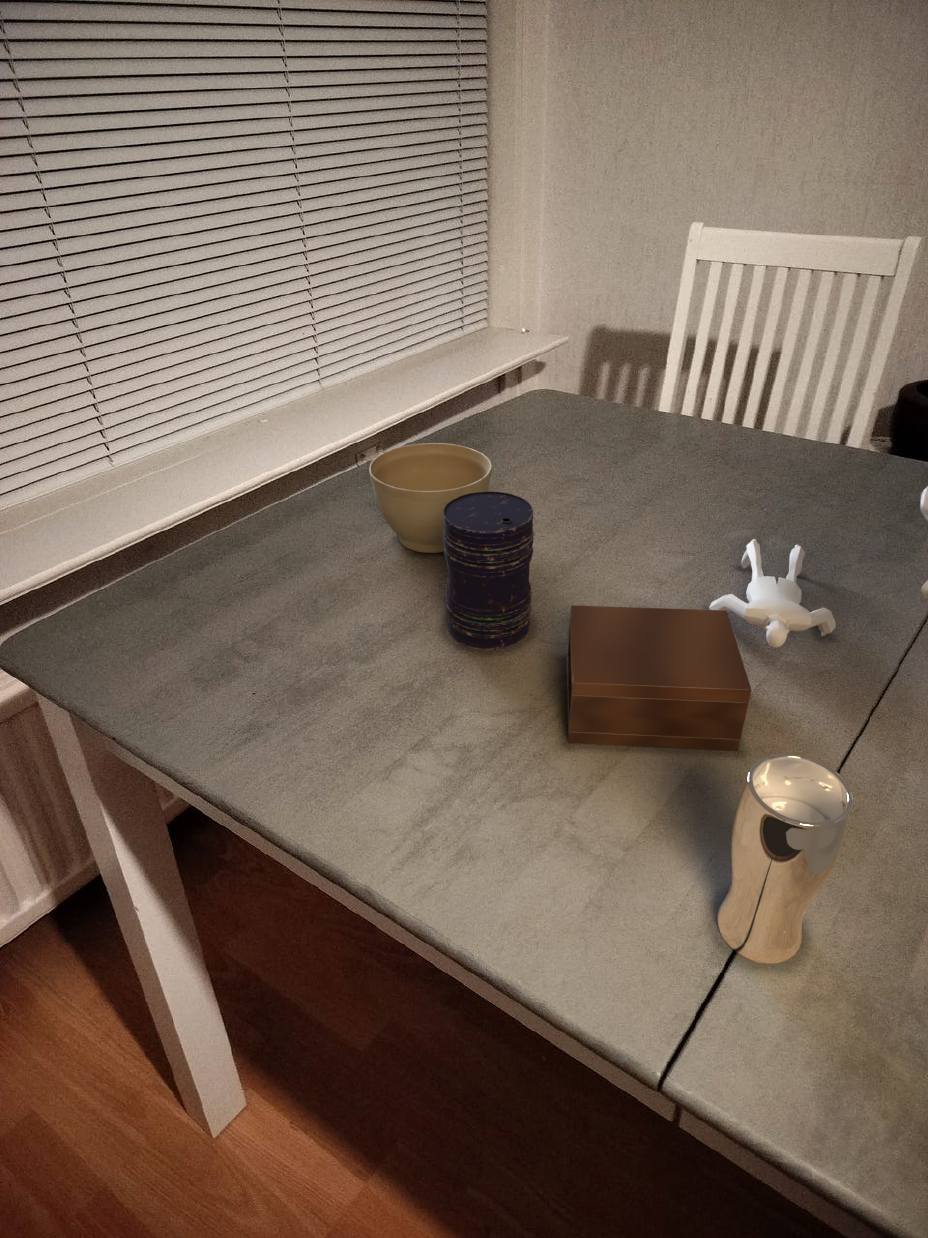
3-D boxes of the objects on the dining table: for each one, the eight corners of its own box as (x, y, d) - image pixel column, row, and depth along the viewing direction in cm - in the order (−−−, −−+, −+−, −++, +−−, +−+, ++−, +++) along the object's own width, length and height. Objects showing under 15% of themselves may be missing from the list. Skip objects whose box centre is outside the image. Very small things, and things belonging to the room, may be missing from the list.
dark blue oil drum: (429, 623, 97) (423, 509, 89) (491, 593, 102) (491, 482, 94) (485, 661, 91) (484, 542, 82) (548, 627, 96) (553, 512, 87)
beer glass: (697, 940, 62) (729, 799, 53) (728, 876, 66) (762, 737, 58) (792, 987, 58) (842, 845, 50) (817, 916, 63) (867, 775, 55)
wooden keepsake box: (715, 668, 89) (726, 610, 85) (737, 751, 78) (751, 690, 74) (566, 662, 90) (570, 605, 86) (568, 743, 80) (572, 682, 75)
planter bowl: (493, 566, 108) (494, 489, 102) (370, 568, 108) (363, 492, 102) (489, 510, 121) (489, 440, 115) (380, 512, 121) (374, 442, 115)
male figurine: (712, 577, 108) (701, 663, 86) (720, 533, 105) (710, 610, 84) (823, 593, 104) (840, 687, 83) (834, 547, 102) (854, 632, 80)
